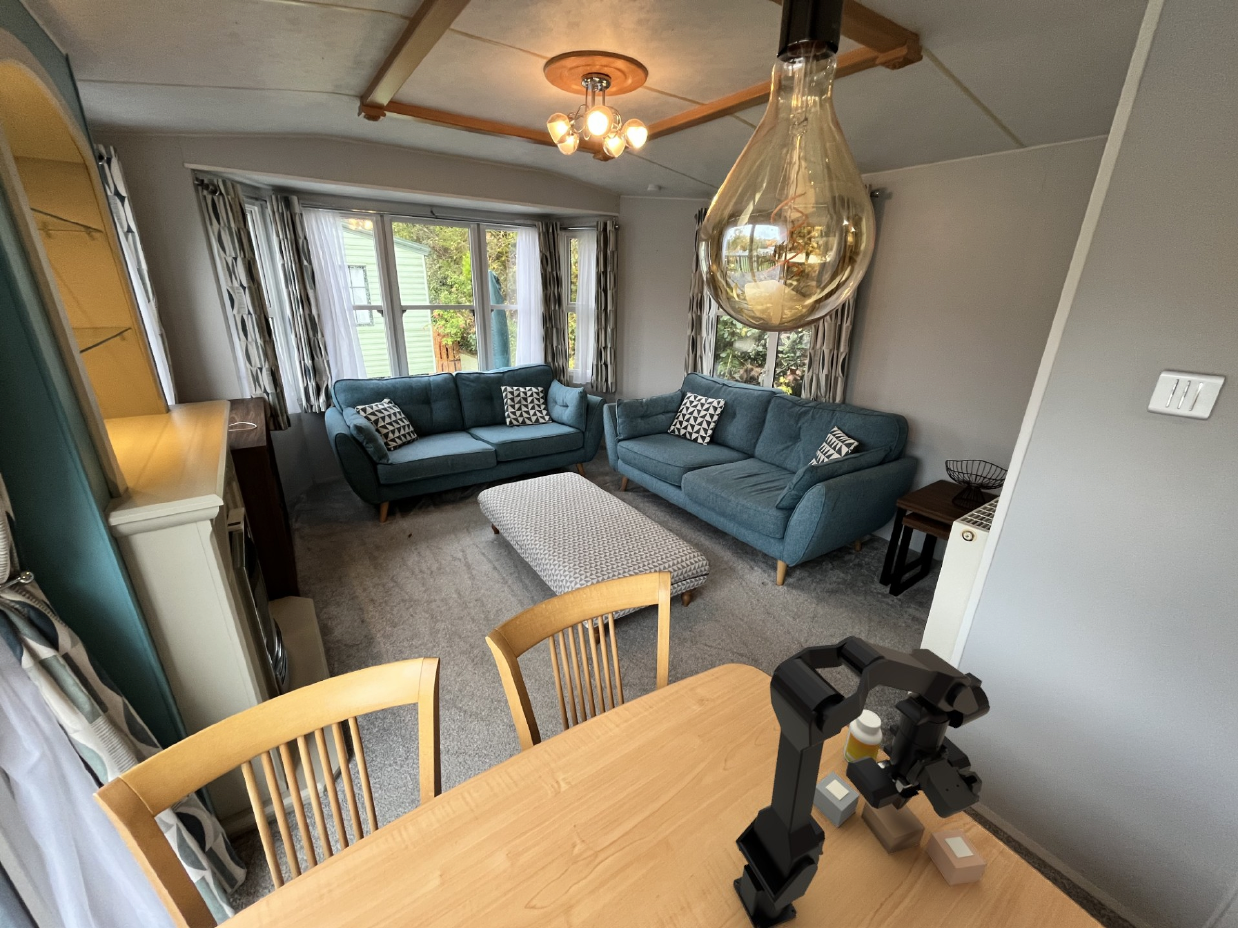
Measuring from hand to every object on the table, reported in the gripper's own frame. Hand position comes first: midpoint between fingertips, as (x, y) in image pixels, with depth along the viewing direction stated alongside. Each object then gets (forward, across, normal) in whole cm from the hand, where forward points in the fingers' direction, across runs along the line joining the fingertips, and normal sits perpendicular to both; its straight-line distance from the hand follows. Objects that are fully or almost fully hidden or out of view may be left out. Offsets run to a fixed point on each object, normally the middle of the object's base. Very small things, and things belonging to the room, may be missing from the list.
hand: (896, 806), depth 79 cm
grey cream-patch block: (+6, -6, +6) cm, 10 cm away
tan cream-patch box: (+6, +5, -7) cm, 10 cm away
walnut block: (+6, 0, 0) cm, 6 cm away
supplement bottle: (+6, +5, +12) cm, 14 cm away
